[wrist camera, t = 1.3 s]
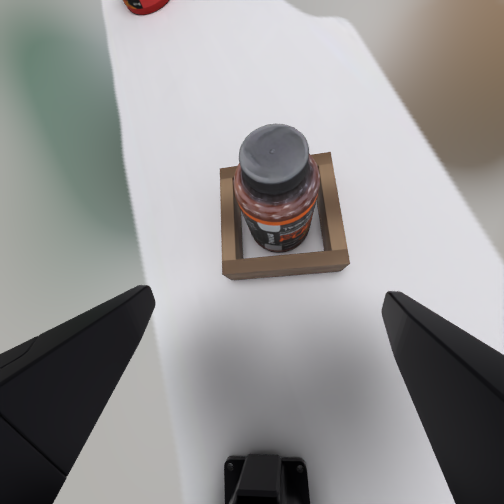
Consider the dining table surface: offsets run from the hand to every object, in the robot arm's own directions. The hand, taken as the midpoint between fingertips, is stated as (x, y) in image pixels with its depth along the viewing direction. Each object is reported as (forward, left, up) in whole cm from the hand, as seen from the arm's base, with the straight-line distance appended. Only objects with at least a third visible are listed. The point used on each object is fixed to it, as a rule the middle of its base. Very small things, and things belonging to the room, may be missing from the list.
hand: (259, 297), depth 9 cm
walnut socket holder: (+8, -1, -13) cm, 16 cm away
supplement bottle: (+8, -1, -14) cm, 16 cm away
